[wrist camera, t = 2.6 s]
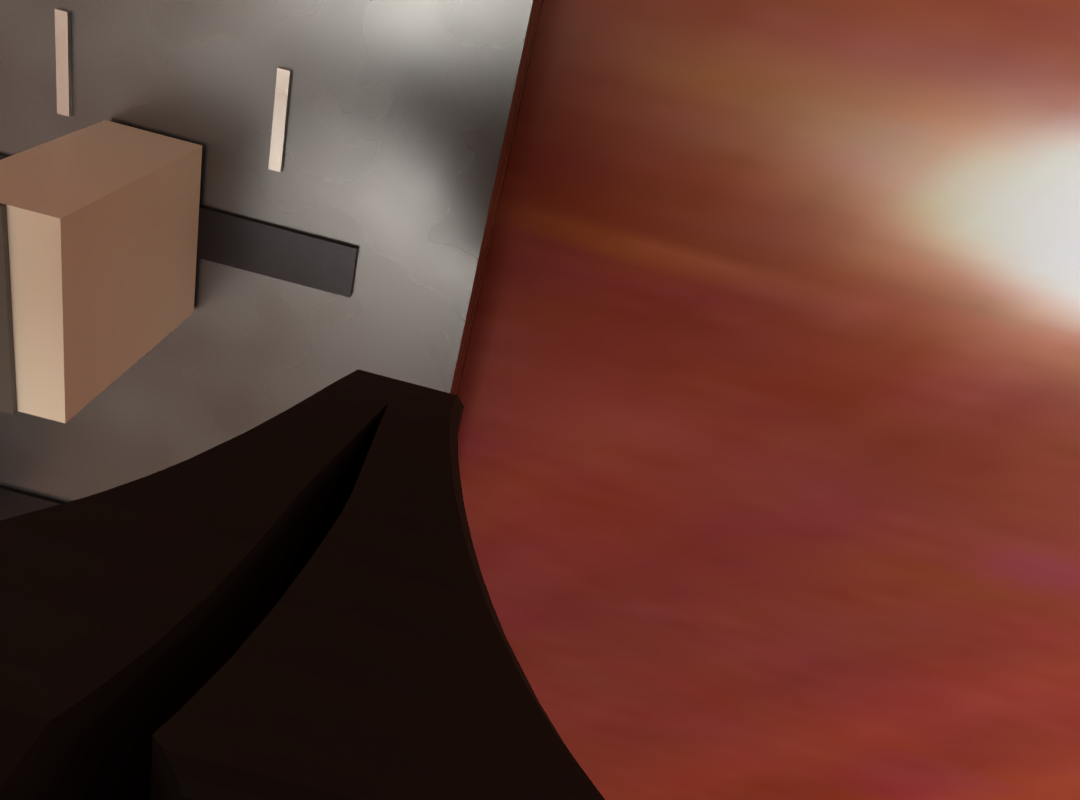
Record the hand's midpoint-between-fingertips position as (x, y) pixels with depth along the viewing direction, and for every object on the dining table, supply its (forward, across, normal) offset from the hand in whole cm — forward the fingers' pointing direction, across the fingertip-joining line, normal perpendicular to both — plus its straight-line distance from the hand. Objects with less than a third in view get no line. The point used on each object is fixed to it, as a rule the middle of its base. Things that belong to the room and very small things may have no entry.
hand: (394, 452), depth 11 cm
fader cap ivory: (+5, +5, 0) cm, 7 cm away
